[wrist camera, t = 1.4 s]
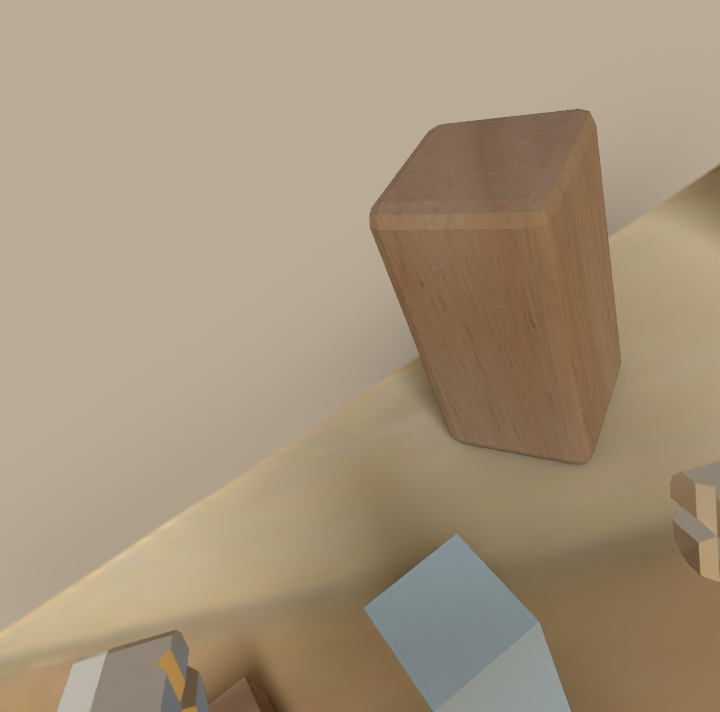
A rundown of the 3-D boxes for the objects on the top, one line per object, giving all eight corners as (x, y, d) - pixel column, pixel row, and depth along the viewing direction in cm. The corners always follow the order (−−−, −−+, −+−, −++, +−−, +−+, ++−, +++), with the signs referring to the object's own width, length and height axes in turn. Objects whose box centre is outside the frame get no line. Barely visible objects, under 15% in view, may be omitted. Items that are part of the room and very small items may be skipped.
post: (576, 728, 31) (539, 621, 24) (499, 799, 30) (433, 712, 23) (508, 647, 35) (456, 533, 27) (437, 709, 34) (363, 608, 26)
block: (449, 446, 46) (356, 214, 33) (494, 349, 52) (429, 118, 39) (591, 473, 41) (545, 209, 28) (625, 362, 46) (598, 98, 33)
